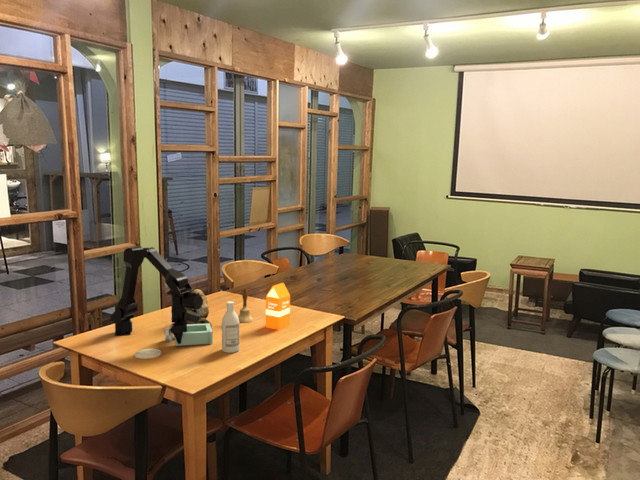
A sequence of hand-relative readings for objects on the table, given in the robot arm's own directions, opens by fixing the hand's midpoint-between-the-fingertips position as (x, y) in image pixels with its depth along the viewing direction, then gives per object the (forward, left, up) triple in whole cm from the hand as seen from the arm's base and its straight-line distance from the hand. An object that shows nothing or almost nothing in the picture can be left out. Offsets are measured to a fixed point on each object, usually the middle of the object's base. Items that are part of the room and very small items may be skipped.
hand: (179, 342), depth 216 cm
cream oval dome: (-12, -7, -1) cm, 14 cm away
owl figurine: (+7, +26, -2) cm, 27 cm away
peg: (-4, +7, -1) cm, 8 cm away
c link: (+5, +5, -1) cm, 7 cm away
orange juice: (+44, +18, -2) cm, 47 cm away
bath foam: (+20, -9, -2) cm, 22 cm away
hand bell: (+30, +30, -2) cm, 42 cm away
